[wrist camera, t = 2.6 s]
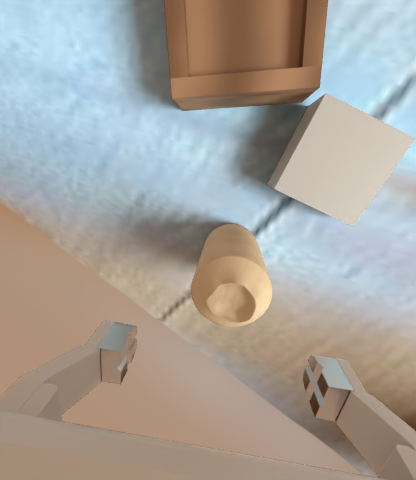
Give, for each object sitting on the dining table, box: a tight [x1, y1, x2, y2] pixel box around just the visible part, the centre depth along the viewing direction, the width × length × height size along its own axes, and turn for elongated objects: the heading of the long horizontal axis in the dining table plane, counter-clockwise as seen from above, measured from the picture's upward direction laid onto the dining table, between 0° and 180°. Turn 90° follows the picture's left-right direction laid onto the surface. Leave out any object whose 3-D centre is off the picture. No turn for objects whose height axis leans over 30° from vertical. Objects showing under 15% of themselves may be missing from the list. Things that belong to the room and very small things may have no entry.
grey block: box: [267, 93, 415, 226], centre depth 19 cm, size 7×7×4 cm
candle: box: [191, 224, 272, 326], centre depth 19 cm, size 6×6×10 cm
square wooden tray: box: [164, 0, 328, 111], centre depth 16 cm, size 10×10×4 cm
